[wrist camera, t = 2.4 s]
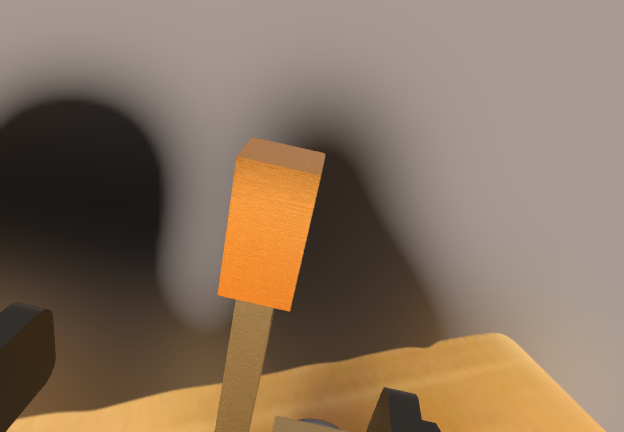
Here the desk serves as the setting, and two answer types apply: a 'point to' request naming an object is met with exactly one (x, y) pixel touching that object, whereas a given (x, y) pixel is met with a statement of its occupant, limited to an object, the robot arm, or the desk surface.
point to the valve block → (303, 425)
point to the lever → (262, 260)
